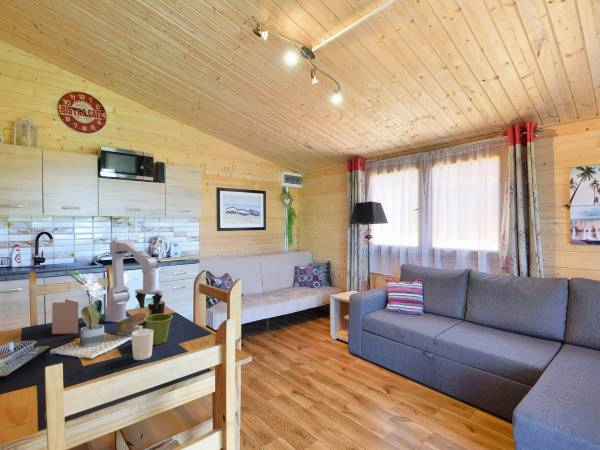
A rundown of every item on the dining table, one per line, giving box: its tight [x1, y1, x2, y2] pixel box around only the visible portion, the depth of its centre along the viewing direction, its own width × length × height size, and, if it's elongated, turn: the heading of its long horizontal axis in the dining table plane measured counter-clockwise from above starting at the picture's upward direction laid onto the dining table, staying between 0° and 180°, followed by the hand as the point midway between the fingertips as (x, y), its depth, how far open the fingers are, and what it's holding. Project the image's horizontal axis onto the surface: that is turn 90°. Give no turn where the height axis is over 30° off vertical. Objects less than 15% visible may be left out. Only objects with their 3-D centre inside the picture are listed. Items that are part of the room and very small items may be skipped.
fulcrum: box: [115, 324, 144, 337], centre depth 157 cm, size 10×9×3 cm
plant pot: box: [144, 313, 173, 346], centre depth 145 cm, size 12×12×11 cm
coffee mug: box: [147, 299, 166, 316], centre depth 174 cm, size 12×9×10 cm
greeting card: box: [51, 299, 80, 335], centre depth 154 cm, size 11×7×15 cm, turn 63°
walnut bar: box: [116, 312, 147, 332], centre depth 157 cm, size 4×16×4 cm, turn 169°
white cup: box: [131, 328, 153, 361], centre depth 129 cm, size 8×8×10 cm
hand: (148, 308), depth 161 cm, fingers open, 7 cm apart
